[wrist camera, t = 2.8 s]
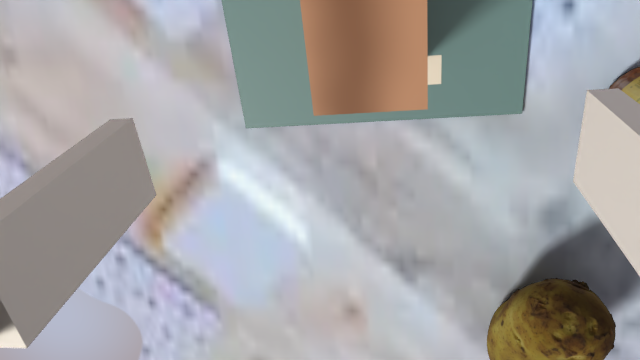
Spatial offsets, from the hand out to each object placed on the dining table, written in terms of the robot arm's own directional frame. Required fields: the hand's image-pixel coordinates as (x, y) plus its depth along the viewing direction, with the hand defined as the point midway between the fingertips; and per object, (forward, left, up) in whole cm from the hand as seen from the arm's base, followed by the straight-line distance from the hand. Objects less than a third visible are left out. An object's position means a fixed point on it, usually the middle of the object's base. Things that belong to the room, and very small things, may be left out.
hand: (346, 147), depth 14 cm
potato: (-12, +25, -21) cm, 35 cm away
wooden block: (0, 0, -20) cm, 20 cm away
